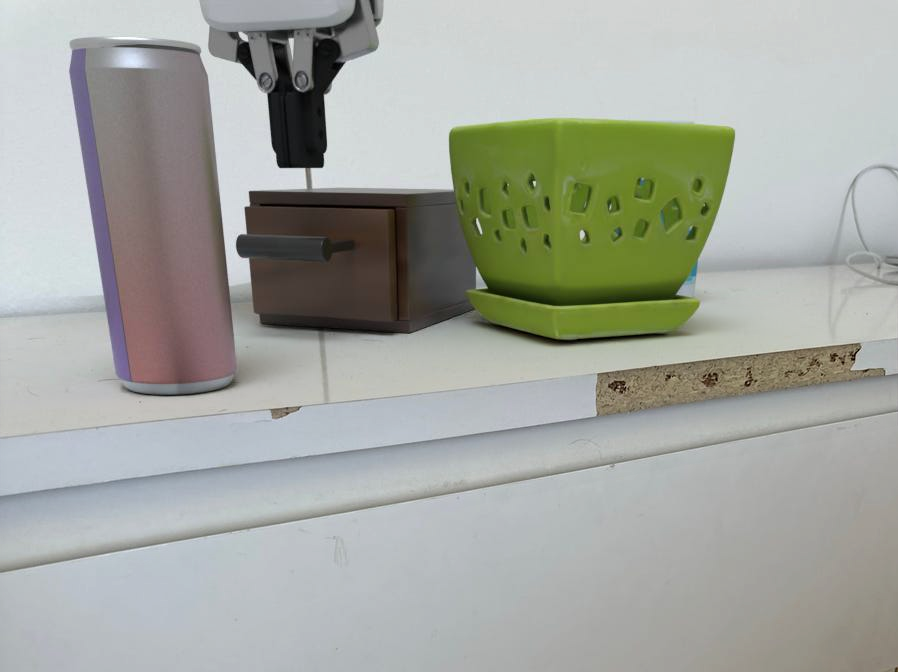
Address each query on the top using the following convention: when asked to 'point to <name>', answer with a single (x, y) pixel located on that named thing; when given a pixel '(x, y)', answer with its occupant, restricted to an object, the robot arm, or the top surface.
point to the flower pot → (587, 220)
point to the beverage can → (155, 211)
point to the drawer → (322, 261)
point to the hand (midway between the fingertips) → (301, 167)
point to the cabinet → (400, 253)
